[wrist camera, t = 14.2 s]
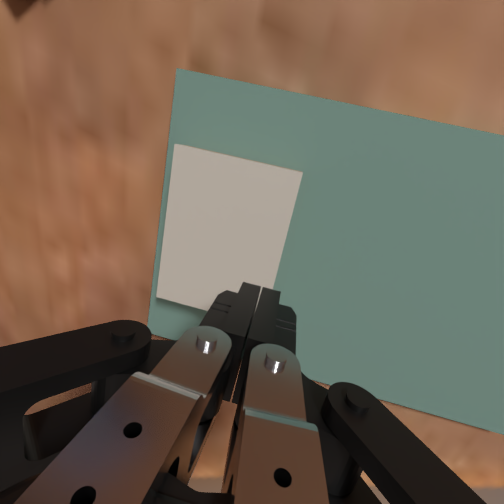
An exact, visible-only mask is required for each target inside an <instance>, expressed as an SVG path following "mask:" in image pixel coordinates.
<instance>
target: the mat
mask: <svg viewBox="0 0 504 504" xmlns="http://www.w3.org/2000/svg"><path fill="white" fill-rule="evenodd" d="M174 144H181V145H188V146H192V147H196V148H201V149H205V150H210V151H214V152H218V153H223V154H227V155H231V156H236V157H240V158H245V159H249V160H253V161H258V162H262V163H267V164H271V165H275V166H280V167H284V168H289V169H293V170H297V171H302V172H303V175H302V179H301V183H300V186H299V190H298V194H297V198H296V202H295V206H294V209H293V213H292V217H291V221H290V225H289V229H288V232H287V236H286V240H285V244H284V248H283V252H282V255H281V259H280V263H279V267H278V271H277V275H276V279H275V282H274V286H273V290H277V291H281V294H280V301H279V304H281V305H285V306H289V307H292V309H293V311H294V312H295V314H296V315H297V322H296V357H297V359H298V360H299V362H300V367H301V372H302V373H303V374H304V375H305V376H306V377H307V378H309V379H311V380H314V381H318V382H321V383H325V384H328V385H332V384H334V383H337V382H349V383H353V384H355V385H358V386H360V387H362V388H364V389H365V390H367V391H368V392H370V393H371V394H372V395H373V396H375V397H376V398H377V399H381V400H384V401H388V402H391V403H395V404H398V405H402V406H405V407H409V408H412V409H416V410H419V411H423V412H426V413H429V414H433V415H436V416H440V417H443V418H447V419H450V420H454V421H457V422H461V423H464V424H468V425H471V426H475V427H478V428H482V429H485V430H489V431H492V432H496V433H499V434H503V435H504V135H499V134H494V133H489V132H484V131H479V130H474V129H470V128H465V127H460V126H455V125H450V124H445V123H440V122H436V121H431V120H426V119H421V118H416V117H411V116H407V115H402V114H397V113H392V112H387V111H382V110H377V109H373V108H368V107H363V106H358V105H353V104H348V103H343V102H339V101H334V100H329V99H324V98H319V97H314V96H309V95H305V94H300V93H295V92H290V91H285V90H280V89H275V88H271V87H266V86H261V85H256V84H251V83H246V82H242V81H237V80H232V79H227V78H222V77H217V76H212V75H208V74H203V73H198V72H193V71H188V70H183V69H178V68H177V70H176V79H175V88H174V97H173V106H172V114H171V123H170V132H169V141H168V150H167V159H166V167H165V176H164V185H163V194H162V203H161V211H160V220H159V229H158V238H157V247H156V255H155V264H154V273H153V282H152V291H151V300H150V308H149V317H148V326H147V327H148V328H149V329H150V331H151V334H154V335H157V336H161V337H164V338H168V339H171V340H178V339H179V338H180V337H181V336H182V335H183V333H184V332H185V331H186V330H188V329H190V328H192V327H196V326H199V324H200V323H201V321H202V320H203V318H204V316H205V315H206V313H207V311H206V310H202V309H198V308H195V307H191V306H188V305H184V304H180V303H177V302H173V301H169V300H166V299H162V298H158V297H156V294H157V286H158V277H159V269H160V261H161V252H162V244H163V236H164V227H165V219H166V210H167V202H168V194H169V185H170V177H171V169H172V160H173V152H174Z"/></svg>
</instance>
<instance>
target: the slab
mask: <svg viewBox="0 0 504 504" xmlns="http://www.w3.org/2000/svg"><path fill="white" fill-rule="evenodd" d="M302 175H303V172H302V171H297V170H293V169H289V168H284V167H280V166H275V165H271V164H267V163H262V162H258V161H253V160H249V159H245V158H240V157H236V156H231V155H227V154H223V153H218V152H214V151H210V150H205V149H201V148H196V147H192V146H188V145H181V144H174V152H173V160H172V169H171V177H170V185H169V194H168V202H167V210H166V219H165V227H164V236H163V244H162V252H161V261H160V269H159V277H158V286H157V294H156V297H158V298H162V299H166V300H169V301H173V302H177V303H180V304H184V305H188V306H191V307H195V308H198V309H202V310H206V311H208V310H209V308H210V307H211V305H212V303H213V302H214V300H215V299H216V297H217V295H218V294H220V293H222V292H224V291H226V290H229V291H232V292H236V293H238V291H239V289H240V287H241V285H242V283H243V282H246V283H250V284H254V285H258V286H261V290H260V294H261V291H262V288H263V287H266V288H269V289H273V286H274V282H275V279H276V275H277V271H278V267H279V263H280V259H281V255H282V252H283V248H284V244H285V240H286V236H287V232H288V229H289V225H290V221H291V217H292V213H293V209H294V206H295V202H296V198H297V194H298V190H299V186H300V183H301V179H302ZM260 294H259V298H260ZM259 298H258V301H259ZM257 304H258V302H257ZM256 308H257V306H256ZM255 311H256V310H255Z"/></svg>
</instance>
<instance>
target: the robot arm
mask: <svg viewBox="0 0 504 504" xmlns="http://www.w3.org/2000/svg"><path fill="white" fill-rule="evenodd" d="M260 290H261V286H258V285H254V284H250V283H246V282H243V283H242V285H241V287H240V289H239V291H238V293H236V292H232V291H229V290H226V291H224V292H222V293H220V294H218V295H217V297H216V299H215V300H214V302H213V303H212V305H211V307H210V308H209V310H208V311H207V313H206V315H205V316H204V318H203V320H202V321H201V323H200V324H199V326H196V327H192V328H190V329H188V330H186V331H185V332H184V333H183V335H182V336H181V337H180V338H179V339H178V340H172V341H168V340H151V331H150V329H149V328H148V327H147V326H146V325H144V324H142V323H140V322H137V321H133V320H117V321H112V322H108V323H103V324H99V325H95V326H90V327H86V328H82V329H77V330H73V331H69V332H64V333H60V334H55V335H51V336H47V337H42V338H38V339H34V340H29V341H25V342H21V343H16V344H12V345H8V346H3V347H0V504H382V503H381V502H380V501H379V500H378V498H377V497H376V496H375V494H374V493H373V492H372V490H371V489H370V488H369V487H368V485H367V484H366V483H365V481H364V480H363V479H362V478H361V476H360V475H361V473H362V471H364V472H365V473H366V474H367V476H368V477H369V478H370V479H371V481H372V482H373V483H374V484H375V486H376V487H377V488H378V489H379V491H380V492H381V493H382V494H383V496H384V497H385V498H386V499H387V501H388V502H389V503H390V504H486V503H485V502H484V501H483V500H482V499H481V498H480V497H479V496H478V495H477V494H476V493H475V492H474V491H473V490H472V489H471V488H470V487H469V486H468V485H467V484H466V483H464V482H463V481H462V480H461V479H460V478H459V477H458V476H457V475H456V474H455V473H454V472H453V471H452V470H451V469H450V468H449V467H448V466H447V465H446V464H445V463H444V462H443V461H441V460H440V459H439V458H438V457H437V456H436V455H435V454H434V453H433V452H432V451H431V450H430V449H429V448H428V447H427V446H426V445H425V444H424V443H423V442H422V441H421V440H420V439H418V438H417V437H416V436H415V435H414V434H413V433H412V432H411V431H410V430H409V429H408V428H407V427H406V426H405V425H404V424H403V423H402V422H401V421H400V420H399V419H398V418H397V417H395V416H394V415H393V414H392V413H391V412H390V411H389V410H388V409H387V408H386V407H385V406H384V405H383V404H382V403H381V402H380V401H379V400H378V399H377V398H376V397H375V396H373V395H372V394H371V393H370V392H368V391H367V390H365V389H364V388H362V387H360V386H358V385H355V384H353V383H349V382H337V383H334V384H332V385H331V386H330V388H329V390H328V389H326V388H324V387H322V386H320V385H318V384H316V383H315V382H313V381H312V380H310V379H309V378H307V377H306V376H305V375H304V374H303V373H302V372H301V367H300V362H299V360H298V359H297V357H296V322H297V315H296V314H295V312H294V311H293V309H292V307H289V306H285V305H281V304H279V301H280V294H281V291H277V290H273V289H269V288H266V287H263V288H262V291H261V294H260ZM259 294H260V298H259ZM258 298H259V301H258ZM257 302H258V304H257ZM256 306H257V308H256ZM255 310H256V311H255ZM241 361H242V362H241ZM240 365H241V366H240ZM239 368H240V370H239ZM238 371H239V375H238ZM237 375H238V379H237V383H236V387H235V391H234V395H233V399H232V403H236V404H238V405H237V409H236V413H235V417H234V421H233V425H232V429H231V435H230V441H229V447H228V453H227V458H226V464H225V470H224V476H223V482H222V488H221V493H204V492H198V491H195V490H193V489H192V488H190V487H189V486H187V485H188V483H189V480H190V478H191V475H192V473H193V471H194V468H195V466H196V464H197V461H198V459H199V457H200V454H201V452H202V450H203V447H204V445H205V443H206V440H207V438H208V436H209V433H210V431H211V429H212V426H213V424H214V421H215V417H216V414H217V413H218V411H219V409H220V406H221V403H222V400H225V401H229V402H230V398H231V395H232V392H233V388H234V385H235V382H236V378H237ZM91 382H92V388H91V392H90V393H87V394H85V395H82V396H79V397H76V398H74V399H71V400H68V401H66V402H63V403H60V404H58V405H55V406H52V407H49V408H47V409H44V410H41V411H39V412H36V413H33V414H30V415H24V414H25V412H26V411H27V410H28V409H29V408H30V407H31V406H32V405H34V404H35V403H37V402H39V401H40V400H43V399H46V398H48V397H51V396H54V395H57V394H60V393H63V392H66V391H68V390H71V389H74V388H77V387H80V386H83V385H86V384H88V383H91Z"/></svg>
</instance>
